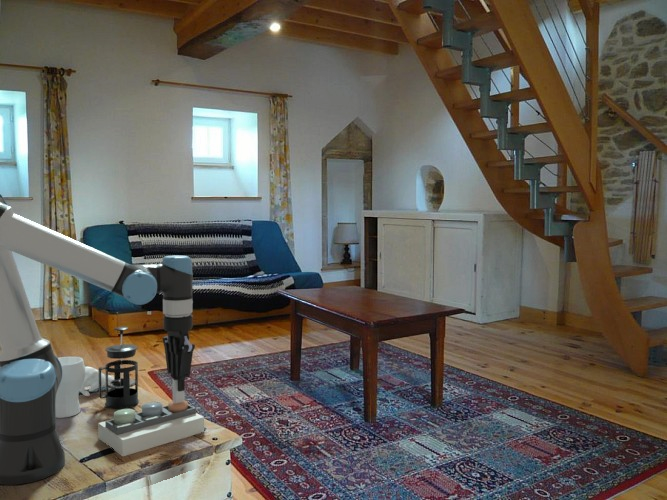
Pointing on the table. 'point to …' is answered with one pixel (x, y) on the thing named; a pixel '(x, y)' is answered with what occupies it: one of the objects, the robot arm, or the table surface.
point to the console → (150, 430)
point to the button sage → (124, 416)
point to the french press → (122, 391)
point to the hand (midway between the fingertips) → (178, 401)
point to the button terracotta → (177, 406)
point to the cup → (69, 386)
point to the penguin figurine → (93, 380)
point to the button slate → (152, 409)
